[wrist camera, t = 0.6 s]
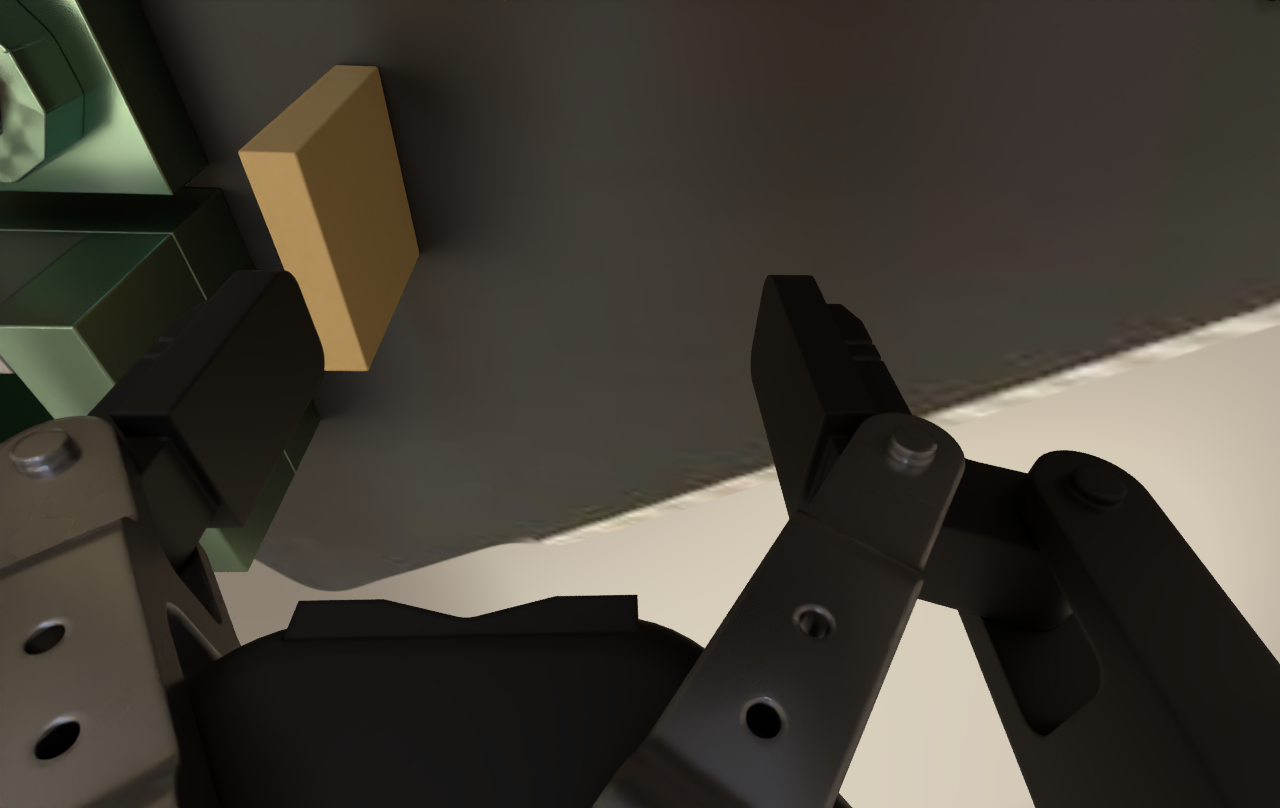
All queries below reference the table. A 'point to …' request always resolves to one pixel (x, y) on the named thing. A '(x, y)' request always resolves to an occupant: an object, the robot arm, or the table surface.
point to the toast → (338, 209)
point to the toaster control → (89, 102)
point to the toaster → (116, 312)
